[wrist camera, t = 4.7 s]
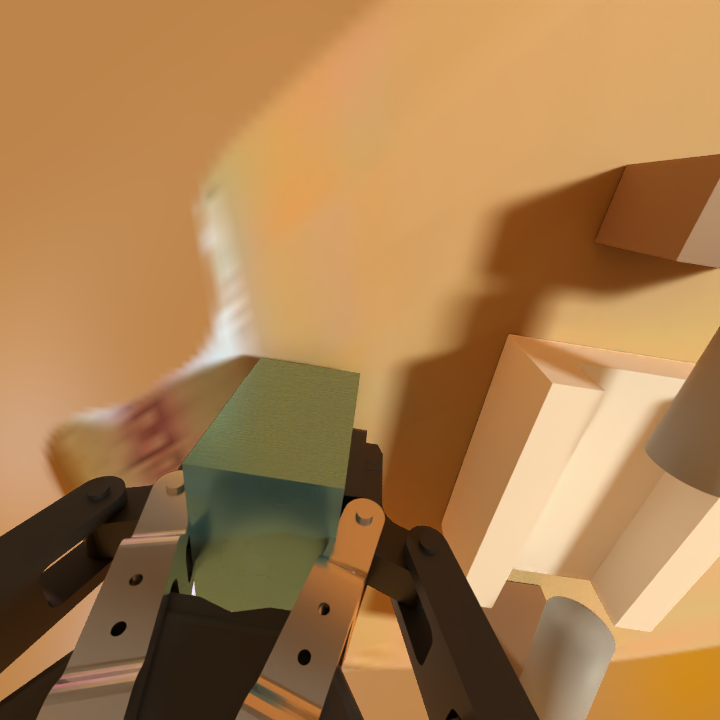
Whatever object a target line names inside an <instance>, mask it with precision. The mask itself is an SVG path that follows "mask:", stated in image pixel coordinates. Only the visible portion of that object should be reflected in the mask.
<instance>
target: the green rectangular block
mask: <svg viewBox="0 0 720 720" xmlns="http://www.w3.org/2000/svg"><path fill="white" fill-rule="evenodd" d="M359 377H360V373H354V372H348V371H342V370H335V369H329V368H323V367H316V366H310V365H304V364H298V363H291V362H285V361H279V360H273V359H266V358H260V359H259V360H258V362H257V363H256V364H255V366H254V367H253V368H252V370H251V371H250V372H249V374H248V375H247V377H246V378H245V379H244V381H243V382H242V383H241V385H240V386H239V387H238V389H237V390H236V391H235V393H234V394H233V395H232V397H231V398H230V399H229V401H228V402H227V404H226V405H225V406H224V408H223V409H222V410H221V412H220V413H219V414H218V416H217V417H216V418H215V420H214V421H213V422H212V424H211V425H210V427H209V428H208V429H207V431H206V432H205V433H204V435H203V436H202V437H201V439H200V440H199V441H198V443H197V444H196V445H195V447H194V448H193V449H192V451H191V452H190V454H189V455H188V456H187V458H186V459H185V460H184V462H183V463H182V468H183V477H184V487H185V496H186V506H187V515H190V518H191V530H190V534H189V535H190V544H191V554H192V561H194V562H195V568H196V573H195V578H194V583H195V592H196V596H200V597H202V598H204V599H206V600H208V601H210V602H212V603H214V604H216V605H218V606H220V607H222V608H224V609H226V610H228V611H233V612H237V611H245V610H253V609H261V608H269V607H271V608H277V609H284V610H290V611H292V609H293V606H294V604H295V602H296V600H297V598H298V596H299V594H300V592H301V590H302V588H303V586H304V584H305V582H306V580H307V578H308V576H309V573H310V571H311V569H312V567H313V565H314V563H315V561H316V560H317V558H318V557H319V556H320V555H321V556H322V555H323V553H324V551H325V549H326V547H327V545H328V543H329V541H330V539H331V537H333V538H336V536H337V530H338V524H339V519H340V513H341V507H342V501H343V496H344V490H345V482H346V475H347V467H348V460H349V452H350V445H351V437H352V430H353V422H354V415H355V407H356V400H357V392H358V385H359Z"/></svg>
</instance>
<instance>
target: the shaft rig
mask: <svg viewBox="0 0 720 720" xmlns="http://www.w3.org/2000/svg"><path fill="white" fill-rule="evenodd" d="M595 242H596V243H600V244H604V245H609V246H613V247H617V248H621V249H626V250H630V251H634V252H639V253H643V254H647V255H652V256H656V257H660V258H665V259H669V260H673V261H678V262H684V263H691V264H697V265H703V266H709V267H716V268H720V154H718V155H709V156H700V157H691V158H683V159H674V160H665V161H657V162H648V163H639V164H631V165H626V168H625V170H624V172H623V175H622V177H621V180H620V182H619V184H618V187H617V189H616V192H615V194H614V196H613V199H612V201H611V204H610V206H609V208H608V211H607V213H606V215H605V218H604V220H603V223H602V225H601V227H600V230H599V232H598V235H597V237H596V239H595ZM441 526H442V531H443V536H444V538H445V539H446V541H447V542H448V544H449V546H450V548H451V550H452V552H453V554H454V556H455V558H456V560H457V561H458V563H459V565H460V567H461V569H462V571H463V573H464V575H465V577H466V579H467V581H468V583H469V585H470V586H471V588H472V590H473V592H474V594H475V596H476V598H477V600H478V602H479V604H480V606H481V608H482V610H483V611H484V613H485V615H486V617H487V619H488V621H489V623H490V625H491V627H492V629H493V631H494V633H495V635H496V636H497V638H498V640H499V642H500V644H501V646H502V648H503V650H504V652H505V654H506V656H507V658H508V660H509V662H510V663H511V665H512V667H513V669H514V671H515V673H516V675H517V677H518V679H519V681H520V683H521V685H522V687H523V688H524V690H525V692H526V694H527V696H528V698H529V700H530V702H531V704H532V706H533V708H534V710H535V712H536V713H537V715H538V717H539V719H540V720H585V719H586V717H587V714H588V712H589V710H590V708H591V705H592V703H593V700H594V698H595V695H596V693H597V691H598V688H599V686H600V684H601V682H602V679H603V677H604V674H605V672H606V670H607V667H608V665H609V663H610V660H611V658H612V656H613V653H614V651H615V640H614V637H613V635H612V633H611V631H610V630H609V628H608V627H607V626H606V624H605V623H604V622H603V621H602V620H601V619H600V618H599V617H598V616H597V615H596V614H595V613H594V612H592V611H591V610H590V609H588V608H587V607H585V606H584V605H582V604H580V603H579V602H577V601H574V600H572V599H569V598H566V597H559V596H557V597H552V598H549V599H548V600H547V601H546V599H545V597H544V594H543V592H542V589H541V587H540V586H537V585H530V584H524V583H517V582H510V581H506V580H507V578H508V576H509V574H510V573H511V571H512V569H517V570H523V571H530V572H537V573H543V574H550V575H556V576H563V577H570V578H576V579H583V580H590V582H591V584H592V586H593V588H594V589H595V591H596V593H597V595H598V597H599V599H600V601H601V602H602V604H603V606H604V608H605V610H606V612H607V614H608V616H609V617H610V619H611V621H612V623H613V625H614V627H621V628H628V629H634V630H641V631H648V632H651V631H652V630H653V629H654V628H655V626H656V625H657V624H658V623H659V622H660V621H661V620H662V619H663V618H664V617H665V615H666V614H667V613H668V612H669V611H670V610H671V609H672V608H673V607H674V606H675V604H676V603H677V602H678V601H679V600H680V599H681V598H682V597H683V596H684V595H685V593H686V592H687V591H688V590H689V589H690V588H691V587H692V586H693V585H694V584H695V582H696V581H697V580H698V579H699V578H700V577H701V576H702V575H703V574H704V573H705V571H706V570H707V569H708V568H709V567H710V566H711V565H712V564H713V563H714V562H715V560H716V559H717V558H718V557H719V556H720V327H719V329H718V330H717V332H716V333H715V335H714V336H713V338H712V340H711V341H710V343H709V344H708V346H707V348H706V349H705V351H704V352H703V354H702V355H701V357H700V359H699V360H698V362H697V363H690V362H684V361H677V360H671V359H664V358H658V357H652V356H645V355H639V354H633V353H626V352H620V351H614V350H607V349H601V348H595V347H588V346H582V345H576V344H569V343H563V342H556V341H550V340H544V339H537V338H531V337H525V336H518V335H512V334H508V337H507V340H506V343H505V345H504V348H503V351H502V354H501V357H500V359H499V362H498V365H497V368H496V371H495V374H494V376H493V379H492V382H491V385H490V388H489V390H488V393H487V396H486V399H485V402H484V405H483V407H482V410H481V413H480V416H479V419H478V421H477V424H476V427H475V430H474V433H473V436H472V438H471V441H470V444H469V447H468V450H467V452H466V455H465V458H464V461H463V464H462V467H461V469H460V472H459V475H458V478H457V481H456V483H455V486H454V489H453V492H452V495H451V498H450V500H449V503H448V506H447V509H446V512H445V514H444V517H443V520H442V523H441Z"/></svg>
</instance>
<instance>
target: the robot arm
mask: <svg viewBox="0 0 720 720" xmlns="http://www.w3.org/2000/svg"><path fill="white" fill-rule="evenodd" d="M366 436H367V430H361V429H355V428H353V430H352V437H351V445H350V452H349V460H348V467H347V475H346V482H345V490H344V496H343V501H342V507H341V513H340V519H339V524H338V530H337V536H336V538H333V537H331V539H330V541H329V543H328V545H327V547H326V549H325V551H324V553H323V555H322V556H321V555H320V556H319V557H318V558H317V560H316V561H315V563H314V565H313V567H312V569H311V571H310V573H309V576H308V578H307V580H306V582H305V584H304V586H303V588H302V590H301V592H300V594H299V596H298V598H297V600H296V602H295V604H294V606H293V609H292V611H290V610H284V609H277V608H271V607H269V608H261V609H253V610H245V611H237V612H231V611H228V610H226V609H224V608H222V607H220V606H218V605H216V604H214V603H212V602H210V601H208V600H206V599H204V598H202V597H200V596H193V595H191V593H192V587H193V582H194V578H195V573H196V568H195V562H194V561H192V554H191V544H190V535H189V534H190V530H191V518H190V515H187V506H186V496H185V487H184V477H183V468H182V465H181V466H180V467H179V469H178V470H177V471H173V472H170V473H167V474H165V475H163V476H162V477H160V478H159V479H158V480H157V481H156V482H155V483H154V485H150V486H142V487H132V488H126V487H125V483H124V481H123V480H122V479H120V478H118V477H114V476H105V477H99V478H96V479H93V480H90V481H88V482H86V483H85V484H83V485H81V486H80V487H78V488H77V489H75V490H73V491H72V492H70V493H69V494H67V495H66V496H64V497H62V498H61V499H59V500H58V501H56V502H54V503H53V504H51V505H50V506H48V507H47V508H45V509H43V510H42V511H40V512H39V513H37V514H36V515H34V516H32V517H31V518H29V519H28V520H26V521H24V522H23V523H21V524H20V525H18V526H16V527H15V528H13V529H12V530H10V531H9V532H7V533H6V534H4V535H2V536H1V537H0V673H1V672H2V671H4V670H5V669H6V668H7V667H8V666H9V665H10V664H11V663H12V662H14V661H15V660H16V659H17V658H18V657H19V656H20V655H21V654H23V653H24V652H25V651H26V650H27V649H28V648H29V647H30V646H31V645H33V643H35V642H36V641H37V640H38V639H39V638H40V637H41V636H42V635H44V634H45V633H46V632H47V631H48V630H49V629H50V628H51V627H53V626H54V625H55V624H56V623H57V622H58V621H59V620H60V619H61V618H63V617H64V616H65V615H66V614H67V613H68V612H69V611H70V610H72V609H73V608H74V607H75V606H76V605H77V604H78V603H79V602H80V601H81V600H83V599H84V598H85V597H86V596H87V595H88V594H89V593H90V592H92V590H94V589H95V588H96V587H97V586H98V585H99V584H100V583H102V582H103V581H104V582H103V584H102V586H101V589H100V591H99V593H98V596H97V598H96V600H95V603H94V605H93V607H92V610H91V612H90V614H89V616H88V619H87V621H86V623H85V626H84V628H83V630H82V632H81V635H80V637H79V639H78V642H77V644H76V646H75V649H74V650H73V651H71V652H70V653H68V654H67V655H66V656H64V657H63V658H61V659H60V660H59V661H57V662H56V663H54V664H53V665H52V666H50V667H49V668H47V669H46V670H44V671H43V672H42V673H40V674H39V675H37V676H36V677H35V678H33V679H32V680H30V681H29V682H27V683H26V684H25V685H23V686H22V687H20V688H19V689H17V690H16V691H15V692H13V693H12V694H10V695H9V696H8V697H6V698H5V699H3V700H2V701H1V702H0V720H364V719H363V717H362V714H361V712H360V710H359V708H358V705H357V703H356V701H355V699H354V697H353V694H352V692H351V690H350V688H349V686H348V683H347V681H346V679H345V677H344V674H343V672H342V666H343V663H344V660H345V657H346V654H347V650H348V647H349V643H350V640H351V636H352V633H353V630H354V626H355V623H356V620H357V617H358V614H359V611H360V607H361V604H362V601H363V598H364V595H365V592H366V588H367V585H369V586H371V587H373V588H375V589H376V590H378V591H380V592H382V593H384V594H386V595H388V596H389V597H391V601H392V604H393V608H394V611H395V614H396V617H397V620H398V623H399V626H400V629H401V633H402V636H403V639H404V642H405V645H406V648H407V651H408V655H409V658H410V661H411V664H412V667H413V670H414V673H415V676H416V680H417V683H418V686H419V689H420V692H421V695H422V698H423V702H424V705H425V708H426V711H427V714H428V717H429V720H540V719H539V717H538V715H537V713H536V712H535V710H534V708H533V706H532V704H531V702H530V700H529V698H528V696H527V694H526V692H525V690H524V688H523V687H522V685H521V683H520V681H519V679H518V677H517V675H516V673H515V671H514V669H513V667H512V665H511V663H510V662H509V660H508V658H507V656H506V654H505V652H504V650H503V648H502V646H501V644H500V642H499V640H498V638H497V636H496V635H495V633H494V631H493V629H492V627H491V625H490V623H489V621H488V619H487V617H486V615H485V613H484V611H483V610H482V608H481V606H480V604H479V602H478V600H477V598H476V596H475V594H474V592H473V590H472V588H471V586H470V585H469V583H468V581H467V579H466V577H465V575H464V573H463V571H462V569H461V567H460V565H459V563H458V561H457V560H456V558H455V556H454V554H453V552H452V550H451V548H450V546H449V544H448V542H447V541H446V539H445V538H444V536H443V535H442V534H441V533H440V532H438V531H437V530H435V529H433V528H431V527H427V526H417V527H414V528H413V529H411V530H410V531H409V530H407V529H405V528H402V527H400V526H398V525H397V524H395V523H393V522H392V521H391V520H390V519H389V518H388V517H387V516H386V514H385V512H384V510H383V507H382V464H383V454H382V452H381V450H380V448H379V446H378V445H376V444H370V443H366ZM82 540H83V542H82V543H81V544H80V545H78V546H77V547H76V548H74V549H73V550H72V551H70V552H69V553H68V554H67V555H65V556H64V557H63V558H61V559H60V560H59V561H57V562H56V563H55V564H53V565H52V566H51V567H50V568H48V569H47V570H46V571H44V570H45V569H46V568H47V567H48V566H49V565H50V564H51V563H53V562H54V561H55V560H57V559H58V558H59V557H61V556H62V555H63V554H65V553H66V552H67V551H68V550H70V549H71V548H72V547H74V546H75V545H76V544H78V543H79V542H80V541H82Z"/></svg>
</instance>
